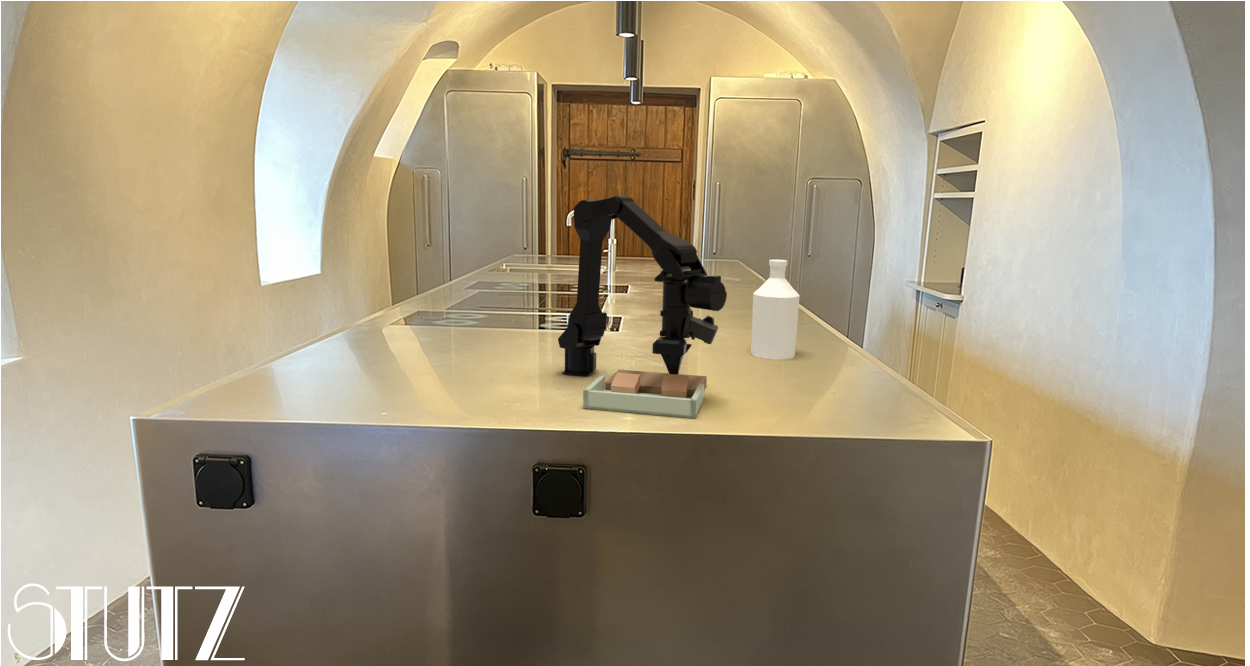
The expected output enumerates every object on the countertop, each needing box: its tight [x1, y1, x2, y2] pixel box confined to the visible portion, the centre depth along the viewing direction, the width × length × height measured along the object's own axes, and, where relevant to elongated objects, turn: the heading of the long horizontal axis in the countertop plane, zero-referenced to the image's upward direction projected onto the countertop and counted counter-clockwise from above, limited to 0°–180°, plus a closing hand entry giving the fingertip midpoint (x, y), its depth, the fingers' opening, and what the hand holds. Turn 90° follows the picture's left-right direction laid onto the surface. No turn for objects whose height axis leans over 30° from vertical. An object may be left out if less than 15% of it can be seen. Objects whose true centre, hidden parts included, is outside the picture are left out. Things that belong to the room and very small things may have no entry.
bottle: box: [750, 259, 801, 361], centre depth 189 cm, size 12×12×25 cm
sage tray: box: [582, 375, 705, 419], centre depth 144 cm, size 22×12×4 cm, turn 76°
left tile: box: [611, 372, 641, 394], centre depth 149 cm, size 5×5×2 cm
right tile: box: [661, 374, 689, 398], centre depth 147 cm, size 5×5×2 cm
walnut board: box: [605, 369, 708, 397], centre depth 156 cm, size 20×12×2 cm, turn 76°
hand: (674, 379), depth 150 cm, fingers closed
